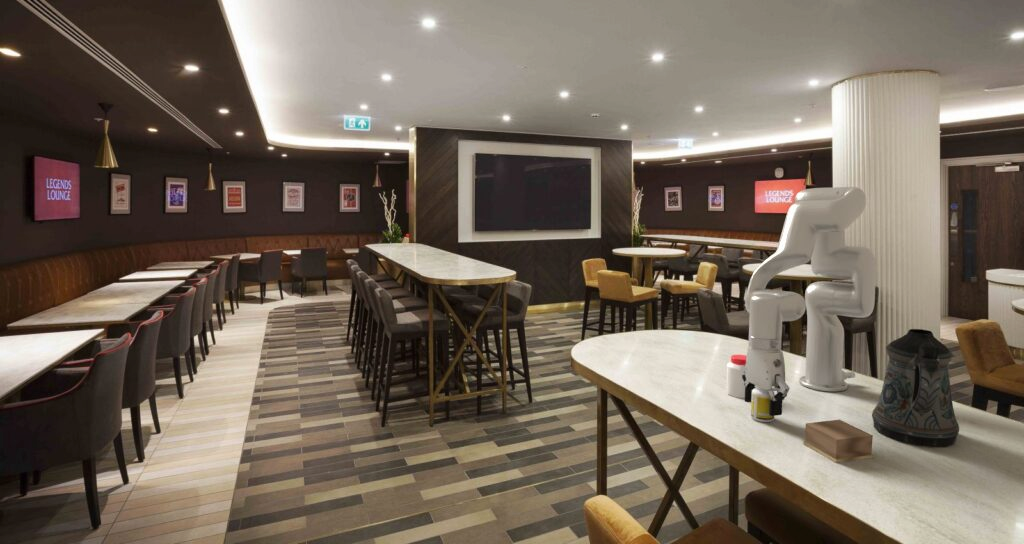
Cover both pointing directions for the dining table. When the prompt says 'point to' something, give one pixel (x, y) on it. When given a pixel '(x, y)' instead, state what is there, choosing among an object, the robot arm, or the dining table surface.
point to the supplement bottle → (760, 405)
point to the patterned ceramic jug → (917, 393)
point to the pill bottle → (735, 376)
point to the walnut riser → (838, 440)
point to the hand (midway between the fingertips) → (762, 408)
